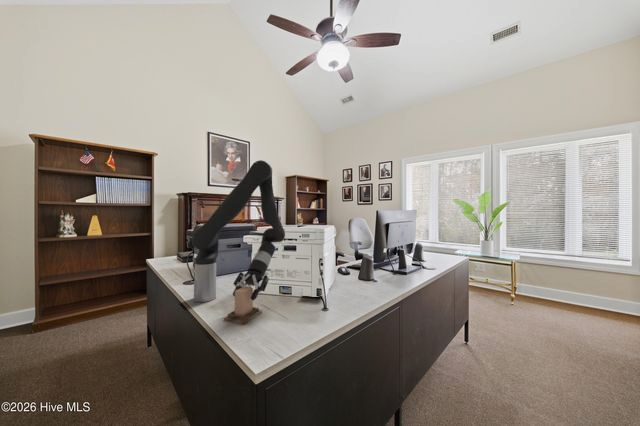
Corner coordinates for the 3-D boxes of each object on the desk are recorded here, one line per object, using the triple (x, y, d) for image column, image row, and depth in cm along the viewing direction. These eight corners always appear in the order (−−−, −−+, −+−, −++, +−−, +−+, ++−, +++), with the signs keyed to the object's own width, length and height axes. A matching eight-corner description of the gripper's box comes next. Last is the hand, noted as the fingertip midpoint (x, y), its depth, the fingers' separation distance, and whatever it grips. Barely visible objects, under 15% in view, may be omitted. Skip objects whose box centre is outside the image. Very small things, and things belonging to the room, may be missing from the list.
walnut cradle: (223, 320, 92) (223, 313, 92) (243, 308, 103) (243, 302, 103) (244, 324, 89) (244, 317, 89) (262, 312, 100) (262, 305, 100)
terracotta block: (234, 316, 94) (234, 290, 94) (244, 310, 100) (244, 286, 100) (242, 318, 93) (243, 292, 93) (252, 312, 98) (252, 287, 98)
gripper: (243, 257, 106) (224, 291, 96) (270, 260, 102) (254, 296, 91) (250, 266, 111) (233, 299, 101) (277, 269, 107) (262, 304, 96)
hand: (243, 298), depth 96 cm, fingers open, 8 cm apart
